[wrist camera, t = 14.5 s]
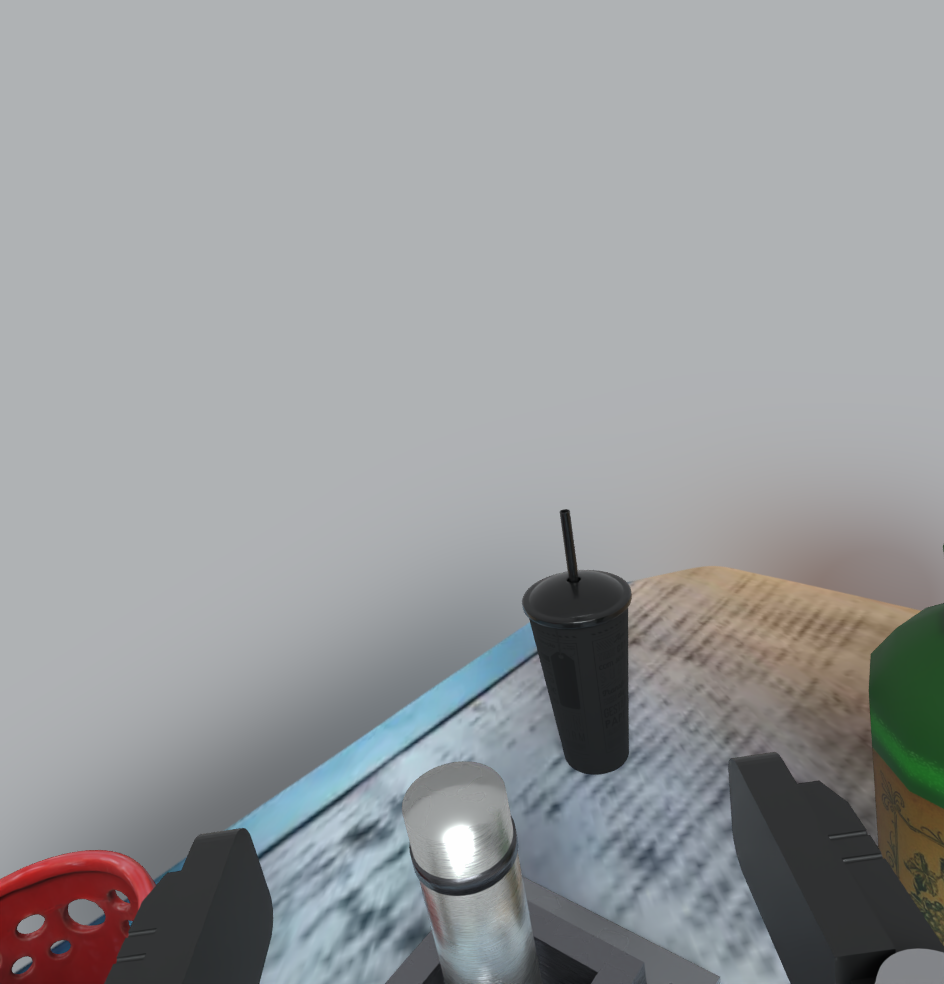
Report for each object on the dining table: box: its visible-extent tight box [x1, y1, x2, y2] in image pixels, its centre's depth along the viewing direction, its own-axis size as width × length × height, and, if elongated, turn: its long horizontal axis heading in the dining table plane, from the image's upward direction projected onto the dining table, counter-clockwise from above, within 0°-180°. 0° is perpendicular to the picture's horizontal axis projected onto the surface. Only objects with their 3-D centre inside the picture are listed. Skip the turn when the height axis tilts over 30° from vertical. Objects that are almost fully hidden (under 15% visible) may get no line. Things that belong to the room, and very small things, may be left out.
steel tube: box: [402, 762, 542, 984], centre depth 35 cm, size 5×5×16 cm
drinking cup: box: [522, 509, 632, 774], centre depth 55 cm, size 8×8×20 cm
